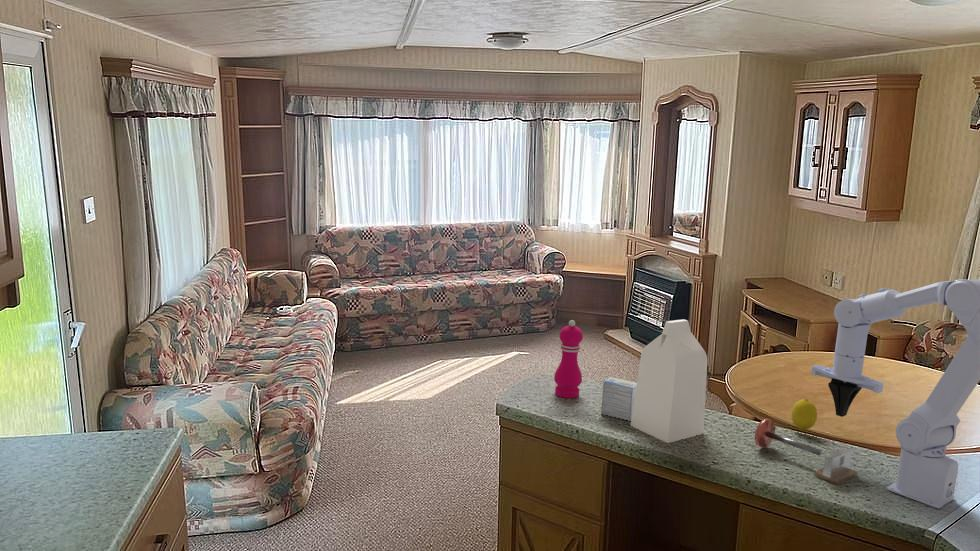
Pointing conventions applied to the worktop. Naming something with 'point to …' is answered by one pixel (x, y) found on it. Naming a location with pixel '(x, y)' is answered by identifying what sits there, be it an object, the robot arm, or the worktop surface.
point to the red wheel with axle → (777, 437)
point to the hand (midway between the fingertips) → (841, 415)
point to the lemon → (804, 414)
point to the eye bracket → (837, 467)
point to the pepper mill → (569, 362)
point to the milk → (671, 385)
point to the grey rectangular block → (618, 398)
